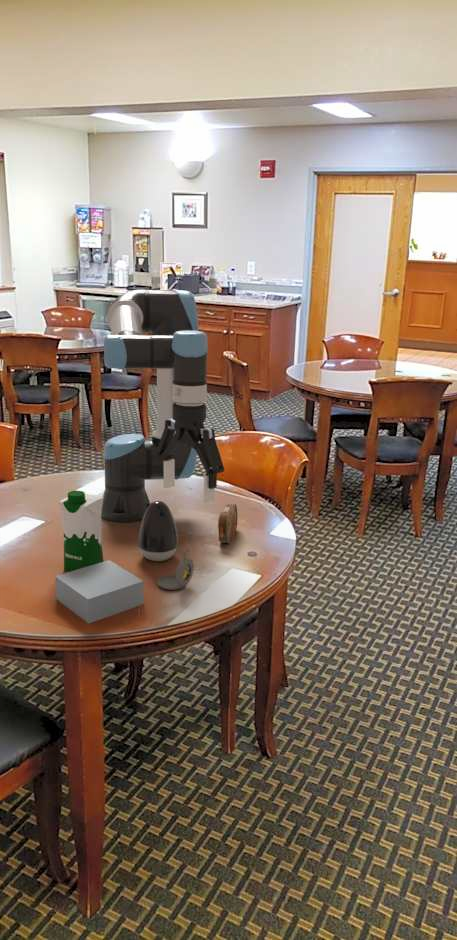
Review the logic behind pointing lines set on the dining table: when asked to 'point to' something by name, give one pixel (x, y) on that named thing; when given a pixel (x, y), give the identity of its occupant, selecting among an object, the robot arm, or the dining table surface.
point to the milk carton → (81, 530)
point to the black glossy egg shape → (158, 533)
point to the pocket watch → (178, 575)
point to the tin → (227, 523)
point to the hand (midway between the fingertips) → (188, 494)
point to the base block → (99, 591)
